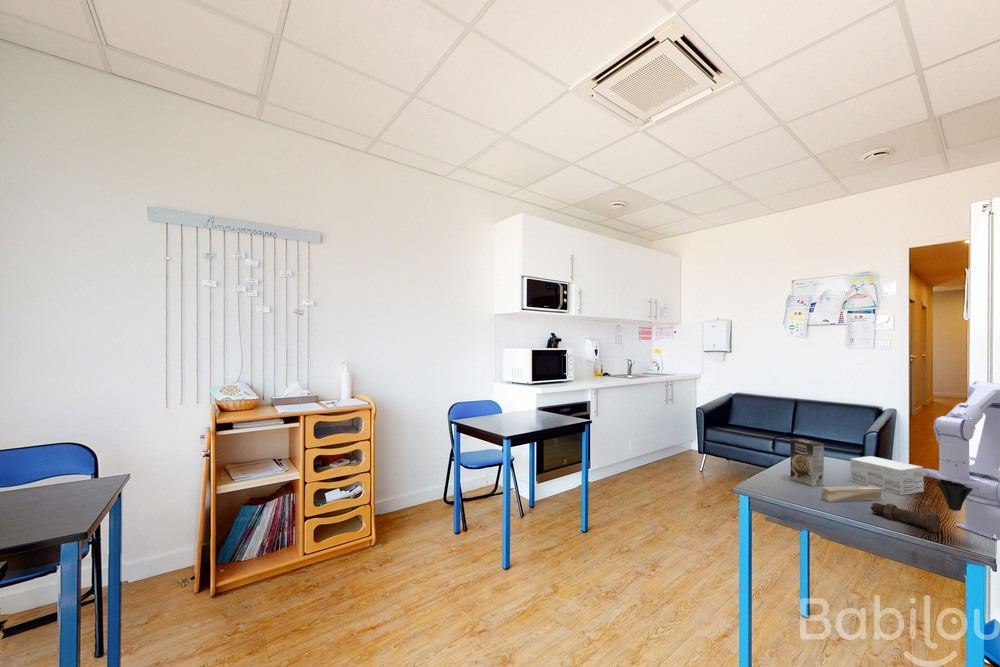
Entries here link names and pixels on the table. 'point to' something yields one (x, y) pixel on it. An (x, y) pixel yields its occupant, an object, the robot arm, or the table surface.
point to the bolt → (908, 516)
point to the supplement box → (887, 475)
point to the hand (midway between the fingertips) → (954, 509)
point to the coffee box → (807, 461)
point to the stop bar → (851, 493)
